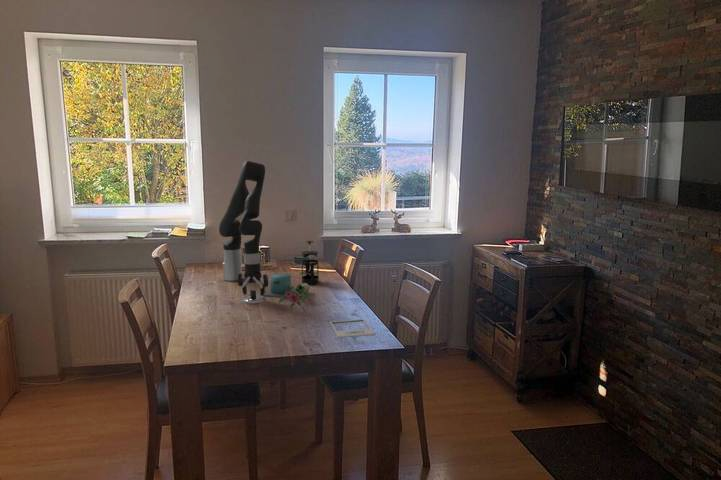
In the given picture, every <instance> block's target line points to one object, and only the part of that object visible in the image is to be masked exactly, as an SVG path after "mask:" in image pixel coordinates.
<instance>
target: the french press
mask: <svg viewBox="0 0 721 480" xmlns="http://www.w3.org/2000/svg"><path fill="white" fill-rule="evenodd" d="M305 243H307V244H308V247H309V250H303V251H301V252H300V253H301V255H302V258H308V257H310V256H315V257H316V258H317V257H318V254H319V251H316V250H311V243H314V241H313V240H306V241H305ZM304 266H305V270H304V268H303V267H304ZM314 266H316V269H315V267H314ZM319 273H320V272H319V260H317V259H310V258H309V259H305V260H301V285H302V284H303V283H307V284H308V285H309V286H315V285H316V286H317V285H318V284H320V281H319V279H320V278H319Z"/></svg>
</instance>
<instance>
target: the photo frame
mask: <svg viewBox="0 0 721 480" xmlns="http://www.w3.org/2000/svg"><path fill="white" fill-rule="evenodd" d="M357 321H358V322H359V321H360V322H361V321H363V323H364V324H365V326H366V328H367V329H365V328H364V329H356V330H342V331H341V330H340V331H338V330H337V329H336V327H335V325H334V323H344V322H346V323H347V322H357ZM329 324H330V326H331V327H332V329H333V331H334V334H335V335H336V337H337V338H338V339H340V338H349V337H362V336H363V337H365V336H373V335H374V336H375V332H374V331H373V329H372V328H371V327H370V325H369V324H368V322H367V321H366V320H365V319H364V318H363V319H361V318H360V319H350V320H348V319H347V320H337V321H336V320H334V321H330V322H329Z"/></svg>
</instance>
